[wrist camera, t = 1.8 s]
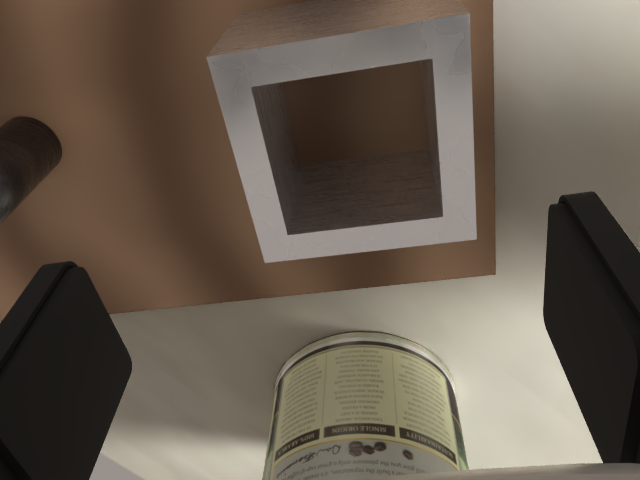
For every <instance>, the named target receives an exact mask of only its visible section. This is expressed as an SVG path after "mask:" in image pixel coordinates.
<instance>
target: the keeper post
mask: <svg viewBox="0 0 640 480" xmlns="http://www.w3.org/2000/svg"><path fill="white" fill-rule="evenodd" d="M61 157H62V147H61V143H60V141H59V139H58V137H57V135H56V134H55V133H54V132H53V130H52V129H51V128H50V127H48V126H47V125H46V124H44V123H43V122H41V121H39V120H37V119H35V118H31V117H26V116H19V117H14V118H12V119H10V120H8V121H7V122H6V123H5V124H3V125H2V126H1V127H0V224H1V223H2V222H3V221H4V220H5V219H6V218H7V217H8V216H9V215H10V214H11V213H12V212H13V211H14V210H15V209H16V208H17V207H18V206H19V205H20V204H21V203H22V201H23V200H24V199H25V198H26V197H27V196H28V195H29V194H30V193H31V192H32V191H33V190H34V189H35V188H36V187H37V186H38V185H39V184H40V183H41V182H42V181H43V180H44V179H45V177H46V176H47V175H48V174H49V173H50V172H51V171H52V170H53V169H54V168H55V167H56V166H57V165H58V164H59V162H60V160H61Z"/></svg>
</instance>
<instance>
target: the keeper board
mask: <svg viewBox="0 0 640 480" xmlns="http://www.w3.org/2000/svg"><path fill="white" fill-rule="evenodd" d="M307 1H313V0H0V127H1V126H2V125H3V124H5V123H6V122H7V121H8V120H10V119H12V118H14V117H19V116H26V117H31V118H35V119H37V120H39V121H41V122H43V123H44V124H46V125H47V126H48V127H50V128H51V129H52V130H53V132H54V133H55V134H56V135H57V137H58V139H59V141H60V143H61V147H62V157H61V160H60V162H59V164H58V165H57V166H56V167H55V168H54V169H53V170H52V171H51V172H50V173H49V174H48V175H47V176H46V177H45V179H44V180H43V181H42V182H41V183H40V184H39V185H38V186H37V187H36V188H35V189H34V190H33V191H32V192H31V193H30V194H29V195H28V196H27V197H26V198H25V199H24V200H23V201H22V203H21V204H20V205H19V206H18V207H17V208H16V209H15V210H14V211H13V212H12V213H11V214H10V215H9V216H8V217H7V218H6V219H5V220H4V221H3V222H2V223H1V224H0V320H1V322H2V320H3V319H4V317H5V316H6V315H7V313H8V312H9V310H10V309H11V308H12V306H13V305H14V303H15V302H16V301H17V299H18V298H19V296H20V295H21V294H22V292H23V291H24V289H25V288H26V286H27V285H28V284H29V282H30V281H31V279H32V278H33V277H34V275H35V274H36V272H37V271H38V270H39V268H40V267H41V266H42V265H45V264H51V263H58V262H66V261H72V262H74V263H76V264H77V265H78V267H83V268H84V269H85V270H86V271H87V273H88V275H89V277H90V279H91V281H92V283H93V284H94V286H95V288H96V290H97V292H98V294H99V296H100V298H101V300H102V302H103V304H104V306H105V308H106V310H107V312H108V314H114V313H124V312H134V311H143V310H153V309H163V308H173V307H183V306H192V305H202V304H212V303H222V302H231V301H241V300H251V299H261V298H271V297H280V296H290V295H300V294H310V293H319V292H329V291H339V290H349V289H358V288H368V287H378V286H388V285H398V284H407V283H417V282H427V281H437V280H446V279H456V278H466V277H476V276H486V275H495V274H496V260H495V163H494V65H493V0H461V1H462V2H463V4H464V5H465V7H466V8H467V10H468V11H469V13H470V40H471V71H472V103H473V134H474V166H475V198H476V229H477V239H476V240H467V241H459V242H450V243H441V244H432V245H423V246H414V247H405V248H396V249H387V250H378V251H369V252H360V253H351V254H342V255H333V256H324V257H315V258H306V259H297V260H288V261H279V262H270V263H265V262H264V258H263V255H262V251H261V248H260V244H259V241H258V237H257V234H256V230H255V227H254V223H253V220H252V216H251V213H250V209H249V206H248V202H247V199H246V195H245V191H244V188H243V184H242V181H241V177H240V174H239V170H238V167H237V163H236V160H235V156H234V153H233V149H232V146H231V142H230V139H229V135H228V132H227V128H226V125H225V121H224V118H223V114H222V111H221V107H220V104H219V100H218V97H217V93H216V90H215V86H214V83H213V79H212V76H211V72H210V68H209V65H208V61H207V58H206V57H207V55H208V54H209V53H210V51H211V50H212V49H213V47H214V46H215V45H216V43H217V42H218V40H219V39H220V38H221V36H222V35H223V34H224V32H225V31H226V30H227V28H228V27H229V26H230V24H231V23H232V22H233V20H234V19H235V17H236V16H237V15H238V14H239V13H245V12H251V11H256V10H262V9H268V8H273V7H279V6H285V5H290V4H296V3H301V2H307ZM283 87H284V91H285V96H286V101H287V105H288V110H289V114H290V119H291V124H292V128H293V133H294V138H295V142H296V147H297V151H298V156H299V161H300V165H308V164H316V163H323V162H331V161H338V160H345V159H353V158H360V157H368V156H375V155H382V154H390V153H397V152H405V151H412V150H419V149H427V148H428V147H427V135H426V122H425V110H424V97H423V85H422V72H421V60H419V61H413V62H407V63H400V64H394V65H387V66H381V67H375V68H368V69H362V70H356V71H349V72H343V73H337V74H330V75H324V76H318V77H311V78H305V79H299V80H292V81H286V82H283Z"/></svg>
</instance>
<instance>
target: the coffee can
mask: <svg viewBox="0 0 640 480" xmlns="http://www.w3.org/2000/svg"><path fill="white" fill-rule="evenodd" d="M462 470H468V464H467V459H466V453H465V447H464V442H463V436H462V429H461V425H460V419H459V414H458V408H457V403H456V390H455V385H454V382H453V379H452V377H451V375H450V373H449V371H448V369H447V368H446V366H445V365H444V364H443V363H442V361H441V360H440V359H439V358H437V357H436V356H435V355H434V354H433V353H431V352H430V351H428V350H427V349H425V348H424V347H422V346H420V345H418V344H416V343H414V342H412V341H409V340H407V339H404V338H401V337H397V336H394V335H388V334H385V333H377V332H373V333H368V332H351V333H344V334H338V335H334V336H330V337H327V338H324V339H321V340H318V341H316V342H314V343H311V344H309V345H307V346H306V347H304V348H303V349H302V350H300V351H299V352H297V353H296V354H294V355H293V356H292V357H291V358H290V359H289V360H288V361H287V362H286V363H285V365H284V366H283V367H282V369H281V370H280V372H279V374H278V377H277V379H276V383H275V386H274V405H273V412H272V419H271V425H270V432H269V439H268V445H267V452H266V459H265V466H264V472H263V478H262V480H338V479H352V478H366V477H380V476H393V475H407V474H421V473H435V472H448V471H462Z"/></svg>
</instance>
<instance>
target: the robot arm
mask: <svg viewBox="0 0 640 480" xmlns="http://www.w3.org/2000/svg"><path fill="white" fill-rule="evenodd" d="M543 316H544V322H545V326H546V329H547V332H548V334H549V337H550V339H551V341H552V344H553V346H554V348H555V351H556V353H557V355H558V358H559V360H560V363H561V365H562V367H563V370H564V372H565V374H566V377H567V379H568V381H569V384H570V386H571V388H572V391H573V393H574V395H575V398H576V400H577V402H578V405H579V407H580V409H581V412H582V414H583V417H584V419H585V421H586V424H587V426H588V428H589V431H590V433H591V435H592V438H593V440H594V442H595V445H596V447H597V449H598V452H599V454H600V456H601V459H602V461H603V463H596V464H563V465H546V466H528V467H511V468H493V469H476V470H462V471H448V472H435V473H421V474H407V475H393V476H380V477H366V478H352V479H338V480H640V253H639V251H638V250H637V248H636V247H635V246H634V244H633V243H632V242H631V240H630V239H629V238H628V236H627V235H626V234H625V232H624V231H623V229H622V228H621V227H620V225H619V224H618V223H617V221H616V220H615V219H614V217H613V216H612V214H611V213H610V212H609V210H608V209H607V208H606V206H605V205H604V204H603V202H602V201H601V200H600V198H599V197H598V195H597V194H596V193H595V192H584V193H577V194H569V195H562V196H561V197H560V198H559V202H558V204H552V205H550V207H549V213H548V231H547V250H546V268H545V287H544V306H543ZM131 371H132V361H131V357H130V355H129V353H128V351H127V349H126V347H125V345H124V343H123V341H122V339H121V337H120V335H119V333H118V331H117V330H116V328H115V326H114V324H113V322H112V320H111V318H110V316H109V314H108V312H107V310H106V308H105V306H104V304H103V302H102V300H101V298H100V296H99V294H98V292H97V290H96V288H95V286H94V284H93V283H92V281H91V279H90V277H89V275H88V273H87V271H86V270H85V269H84V268H83V267H78V265H77V264H76V263H74V262H72V261H66V262H58V263H51V264H45V265H42V266H41V267H40V268H39V270H38V271H37V272H36V274H35V275H34V277H33V278H32V279H31V281H30V282H29V284H28V285H27V286H26V288H25V289H24V291H23V292H22V294H21V295H20V296H19V298H18V299H17V301H16V302H15V303H14V305H13V306H12V308H11V309H10V310H9V312H8V313H7V315H6V316H5V317H4V319H3V320H2V322H1V323H0V480H89V478H90V476H91V473H92V471H93V468H94V466H95V463H96V461H97V458H98V455H99V453H100V451H101V448H102V446H103V443H104V440H105V438H106V435H107V433H108V430H109V428H110V425H111V423H112V420H113V418H114V415H115V413H116V410H117V408H118V405H119V403H120V400H121V398H122V395H123V392H124V390H125V387H126V385H127V382H128V380H129V377H130V375H131Z"/></svg>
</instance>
